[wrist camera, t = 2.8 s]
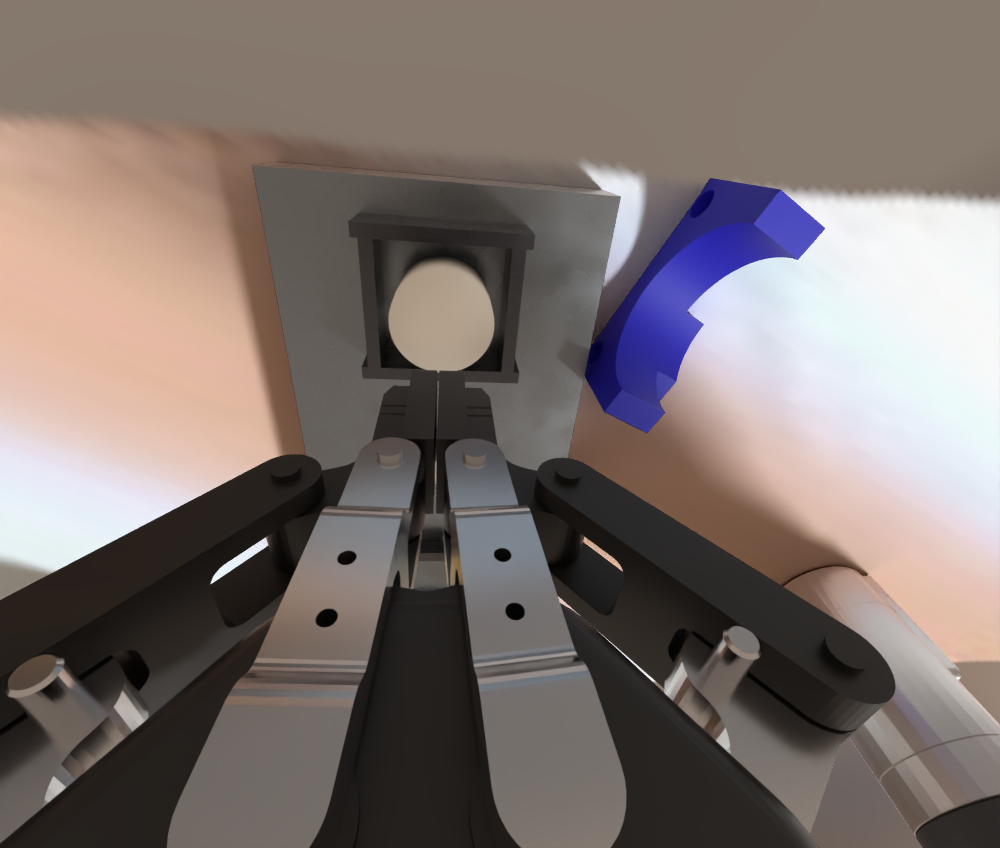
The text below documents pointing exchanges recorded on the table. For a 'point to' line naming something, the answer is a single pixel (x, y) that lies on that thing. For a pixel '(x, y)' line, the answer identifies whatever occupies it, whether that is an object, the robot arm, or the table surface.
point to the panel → (375, 277)
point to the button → (441, 315)
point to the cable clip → (687, 292)
